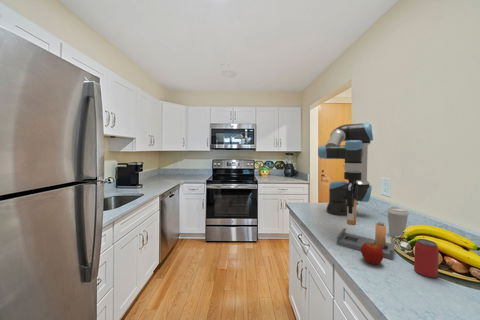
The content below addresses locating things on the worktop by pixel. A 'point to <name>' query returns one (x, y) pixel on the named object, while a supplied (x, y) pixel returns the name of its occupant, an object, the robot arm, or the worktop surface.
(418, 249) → the beer can
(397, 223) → the coffee cup
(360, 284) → the worktop surface
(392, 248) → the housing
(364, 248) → the apple
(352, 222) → the peg
